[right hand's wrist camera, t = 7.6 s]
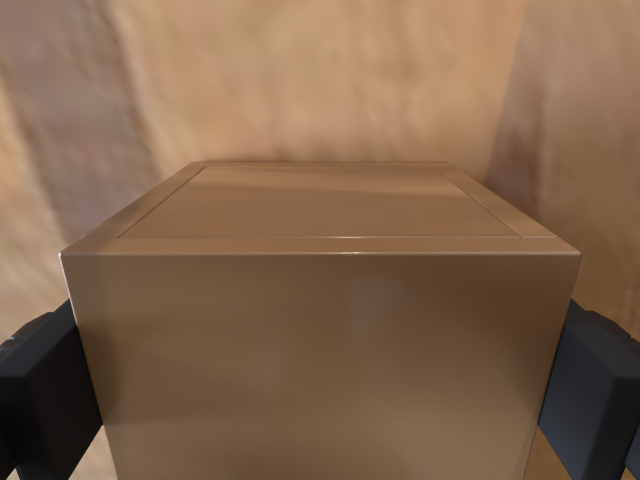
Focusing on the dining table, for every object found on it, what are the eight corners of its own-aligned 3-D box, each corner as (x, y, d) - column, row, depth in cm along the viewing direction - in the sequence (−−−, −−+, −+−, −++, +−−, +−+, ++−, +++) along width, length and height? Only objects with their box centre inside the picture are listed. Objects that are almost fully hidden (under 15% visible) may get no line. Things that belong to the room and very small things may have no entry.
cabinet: (410, 483, 23) (462, 715, 14) (228, 483, 23) (177, 716, 14) (448, 161, 16) (584, 252, 8) (190, 161, 16) (55, 252, 8)
